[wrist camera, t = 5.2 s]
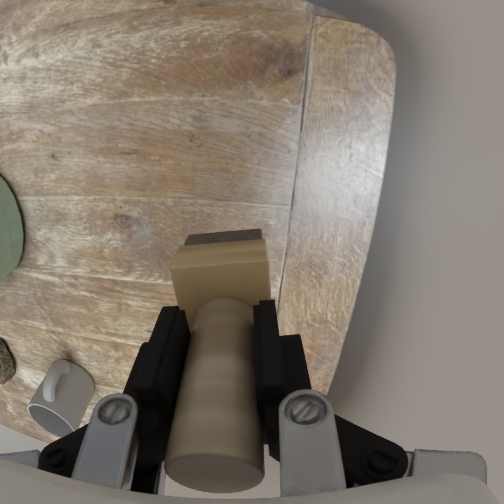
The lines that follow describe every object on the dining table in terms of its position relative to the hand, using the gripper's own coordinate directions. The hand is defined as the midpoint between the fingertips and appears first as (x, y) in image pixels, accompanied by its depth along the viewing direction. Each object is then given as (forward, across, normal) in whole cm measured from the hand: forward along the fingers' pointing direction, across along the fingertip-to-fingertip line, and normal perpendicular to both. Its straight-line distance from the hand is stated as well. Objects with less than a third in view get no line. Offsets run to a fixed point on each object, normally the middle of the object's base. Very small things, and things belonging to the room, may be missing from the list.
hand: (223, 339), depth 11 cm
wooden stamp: (+5, 0, 0) cm, 5 cm away
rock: (+19, +41, +19) cm, 49 cm away
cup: (+19, +26, +21) cm, 38 cm away
